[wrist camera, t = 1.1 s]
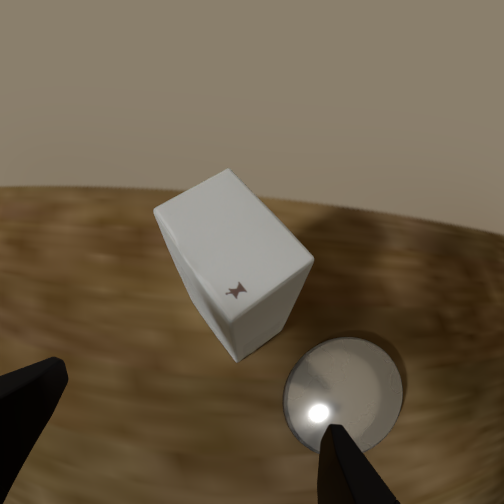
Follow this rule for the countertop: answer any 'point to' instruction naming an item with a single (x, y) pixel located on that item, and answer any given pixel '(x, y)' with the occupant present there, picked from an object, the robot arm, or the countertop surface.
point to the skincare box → (234, 260)
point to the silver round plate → (343, 392)
